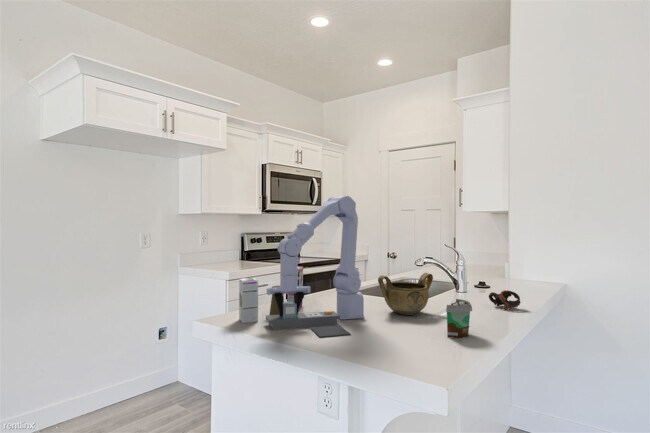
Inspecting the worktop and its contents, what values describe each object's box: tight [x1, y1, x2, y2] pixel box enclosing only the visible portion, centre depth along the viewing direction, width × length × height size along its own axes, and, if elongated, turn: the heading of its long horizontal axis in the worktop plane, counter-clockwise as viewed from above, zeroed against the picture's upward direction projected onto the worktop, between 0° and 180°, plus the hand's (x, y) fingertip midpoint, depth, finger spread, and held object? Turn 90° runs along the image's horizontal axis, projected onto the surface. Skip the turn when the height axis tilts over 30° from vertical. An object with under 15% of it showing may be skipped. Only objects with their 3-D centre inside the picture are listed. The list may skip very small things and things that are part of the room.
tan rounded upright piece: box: [268, 285, 285, 315], centre depth 143 cm, size 6×6×11 cm
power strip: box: [265, 310, 341, 330], centre depth 132 cm, size 24×7×4 cm, turn 108°
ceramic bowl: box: [377, 272, 434, 316], centre depth 149 cm, size 22×17×15 cm
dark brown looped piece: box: [488, 289, 521, 311], centre depth 160 cm, size 12×10×8 cm
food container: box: [445, 298, 473, 339], centre depth 121 cm, size 12×6×10 cm, turn 148°
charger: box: [281, 301, 297, 319], centre depth 130 cm, size 4×5×6 cm
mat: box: [310, 325, 352, 339], centre depth 123 cm, size 10×10×1 cm
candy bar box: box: [286, 265, 304, 312], centre depth 155 cm, size 11×5×16 cm, turn 175°
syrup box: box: [238, 277, 259, 324], centre depth 136 cm, size 6×6×14 cm
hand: (288, 315), depth 130 cm, fingers closed on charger, 4 cm apart
